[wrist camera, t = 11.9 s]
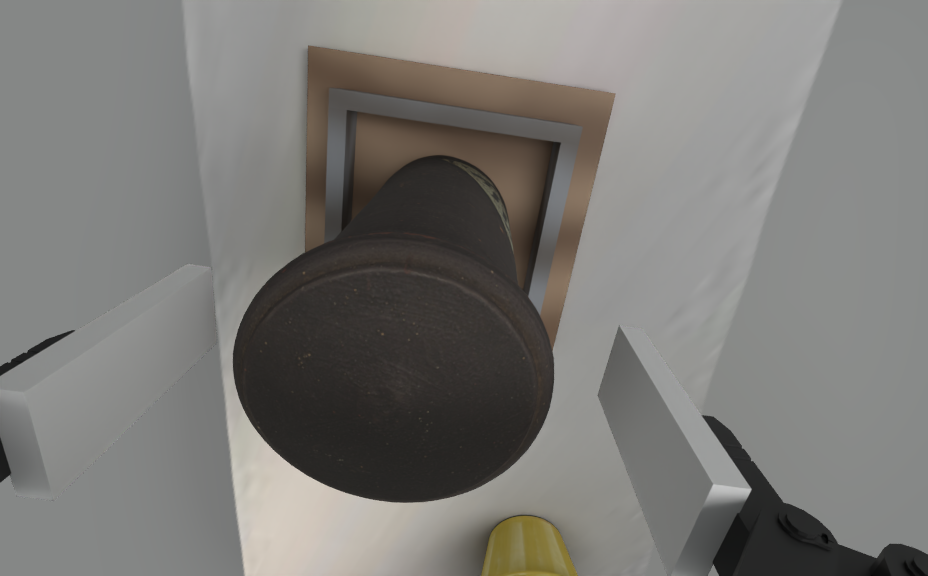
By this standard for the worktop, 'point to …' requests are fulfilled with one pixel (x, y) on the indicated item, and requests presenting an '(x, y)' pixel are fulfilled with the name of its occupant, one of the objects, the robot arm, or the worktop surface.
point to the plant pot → (527, 549)
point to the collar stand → (457, 151)
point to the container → (401, 345)
